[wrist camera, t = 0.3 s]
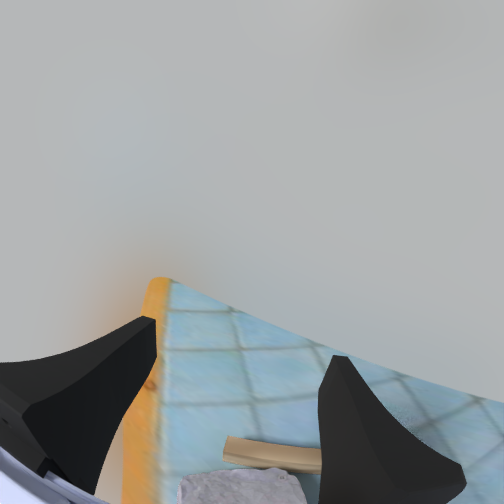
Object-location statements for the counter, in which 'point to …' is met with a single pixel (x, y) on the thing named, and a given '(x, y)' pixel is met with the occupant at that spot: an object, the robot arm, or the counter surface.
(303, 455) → the fence
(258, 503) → the stone block
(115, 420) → the robot arm
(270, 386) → the counter surface
